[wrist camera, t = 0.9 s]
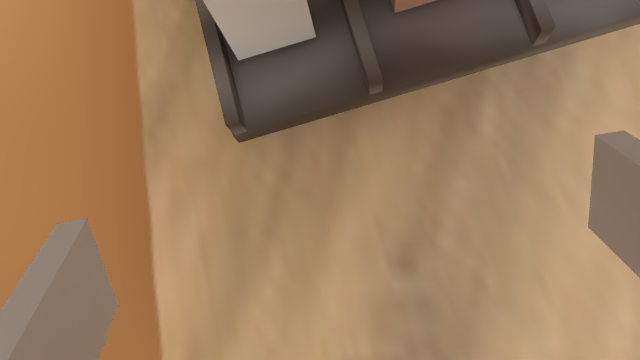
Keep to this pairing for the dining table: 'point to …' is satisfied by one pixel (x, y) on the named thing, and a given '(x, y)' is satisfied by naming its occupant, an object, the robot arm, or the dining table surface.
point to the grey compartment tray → (391, 53)
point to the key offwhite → (261, 24)
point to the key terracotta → (407, 4)
